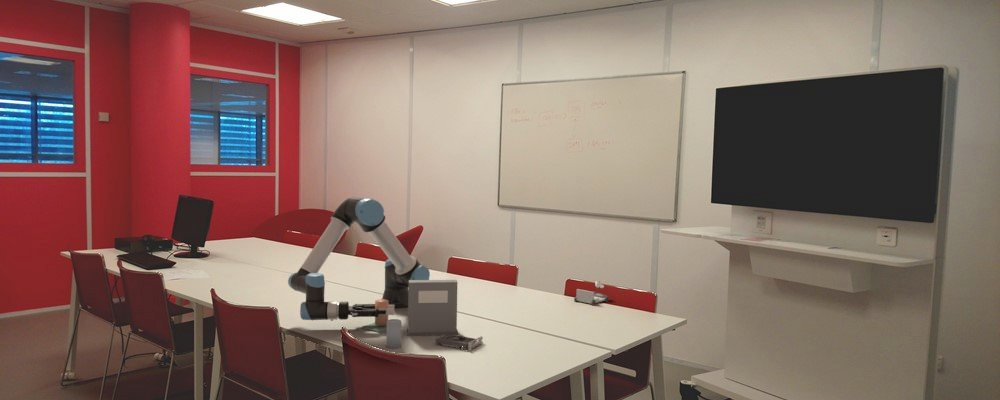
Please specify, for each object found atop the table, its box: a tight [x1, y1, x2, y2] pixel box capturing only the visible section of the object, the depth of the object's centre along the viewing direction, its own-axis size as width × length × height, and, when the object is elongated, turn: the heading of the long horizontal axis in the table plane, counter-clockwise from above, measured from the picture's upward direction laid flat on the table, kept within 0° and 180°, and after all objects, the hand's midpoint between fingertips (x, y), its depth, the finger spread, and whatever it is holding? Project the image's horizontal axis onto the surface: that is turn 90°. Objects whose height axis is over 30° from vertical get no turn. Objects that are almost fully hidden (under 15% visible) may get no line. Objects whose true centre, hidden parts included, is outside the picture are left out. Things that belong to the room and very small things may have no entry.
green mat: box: [361, 322, 403, 334], centre depth 261 cm, size 12×12×1 cm
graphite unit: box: [406, 279, 459, 337], centre depth 254 cm, size 7×21×22 cm, turn 99°
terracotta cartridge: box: [374, 298, 389, 326], centre depth 261 cm, size 6×6×10 cm
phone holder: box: [573, 280, 610, 306], centre depth 319 cm, size 18×10×12 cm
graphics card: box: [434, 334, 484, 352], centre depth 240 cm, size 17×4×12 cm
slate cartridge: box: [385, 318, 402, 350], centre depth 235 cm, size 6×6×10 cm
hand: (394, 309), depth 262 cm, fingers closed on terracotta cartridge, 5 cm apart
